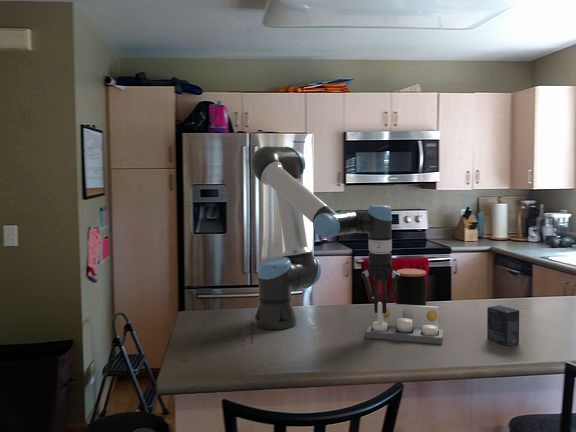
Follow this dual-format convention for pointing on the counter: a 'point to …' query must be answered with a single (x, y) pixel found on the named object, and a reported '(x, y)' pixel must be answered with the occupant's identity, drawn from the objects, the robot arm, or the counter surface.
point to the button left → (380, 326)
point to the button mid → (404, 324)
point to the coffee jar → (411, 287)
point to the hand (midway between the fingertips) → (380, 322)
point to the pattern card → (411, 314)
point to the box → (503, 325)
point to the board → (405, 335)
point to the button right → (430, 330)
